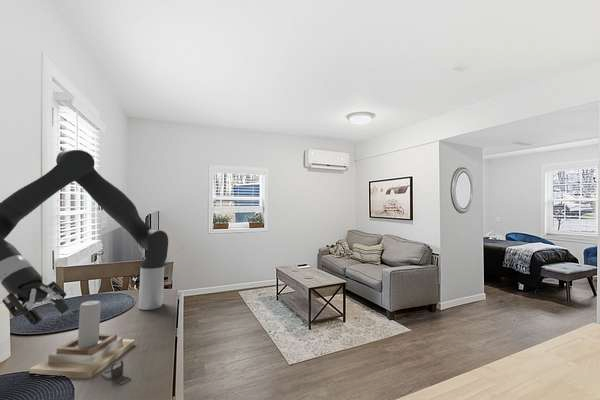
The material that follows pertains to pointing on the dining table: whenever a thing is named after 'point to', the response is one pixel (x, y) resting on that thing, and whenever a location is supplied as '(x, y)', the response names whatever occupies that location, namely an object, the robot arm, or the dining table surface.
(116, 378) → the strap clip
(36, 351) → the dining table surface
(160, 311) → the dining table surface
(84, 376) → the stand
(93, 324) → the beverage can
